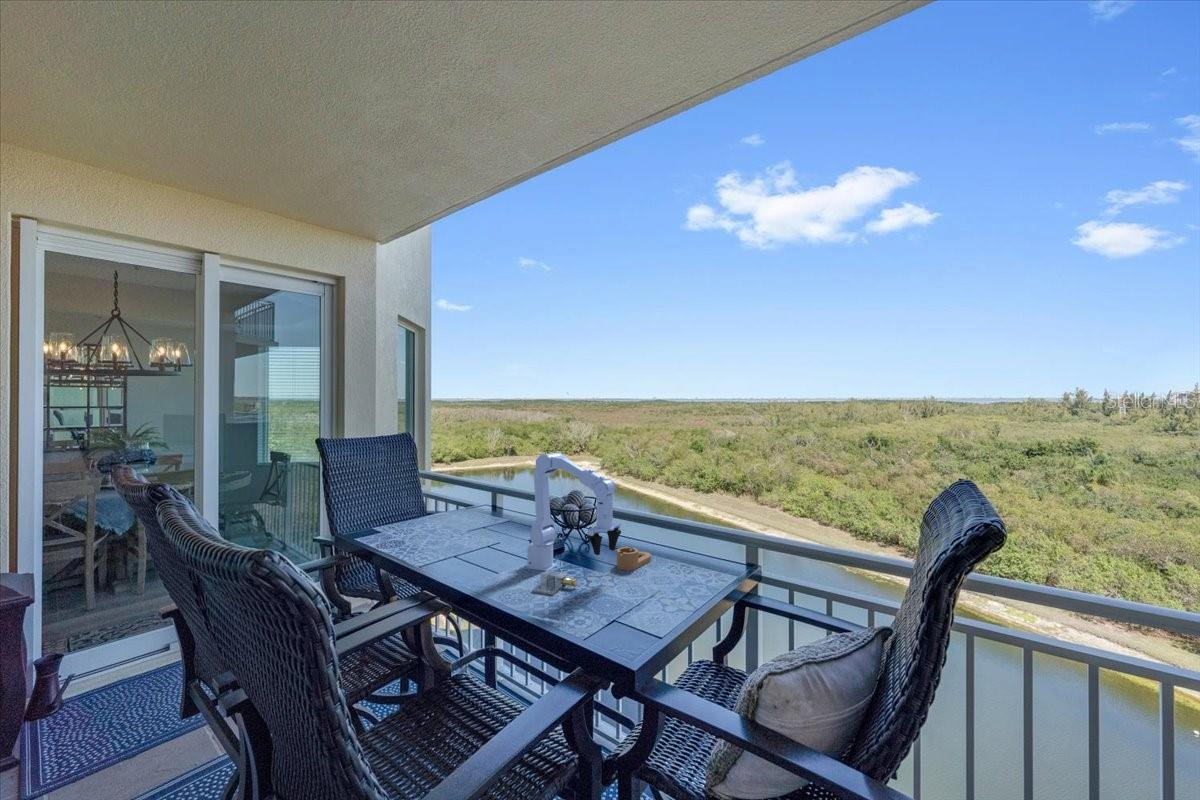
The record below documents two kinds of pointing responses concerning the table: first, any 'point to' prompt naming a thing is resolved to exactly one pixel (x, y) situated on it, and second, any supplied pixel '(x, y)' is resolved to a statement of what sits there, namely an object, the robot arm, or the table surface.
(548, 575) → the hinge
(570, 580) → the pin
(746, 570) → the table surface
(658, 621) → the table surface
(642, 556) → the bracket
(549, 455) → the robot arm
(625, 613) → the table surface
